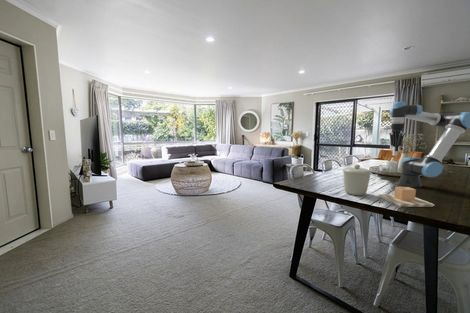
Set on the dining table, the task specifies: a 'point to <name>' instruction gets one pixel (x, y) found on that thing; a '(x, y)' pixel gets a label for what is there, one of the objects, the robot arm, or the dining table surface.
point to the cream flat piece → (400, 203)
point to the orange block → (405, 193)
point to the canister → (356, 180)
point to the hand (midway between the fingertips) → (394, 155)
